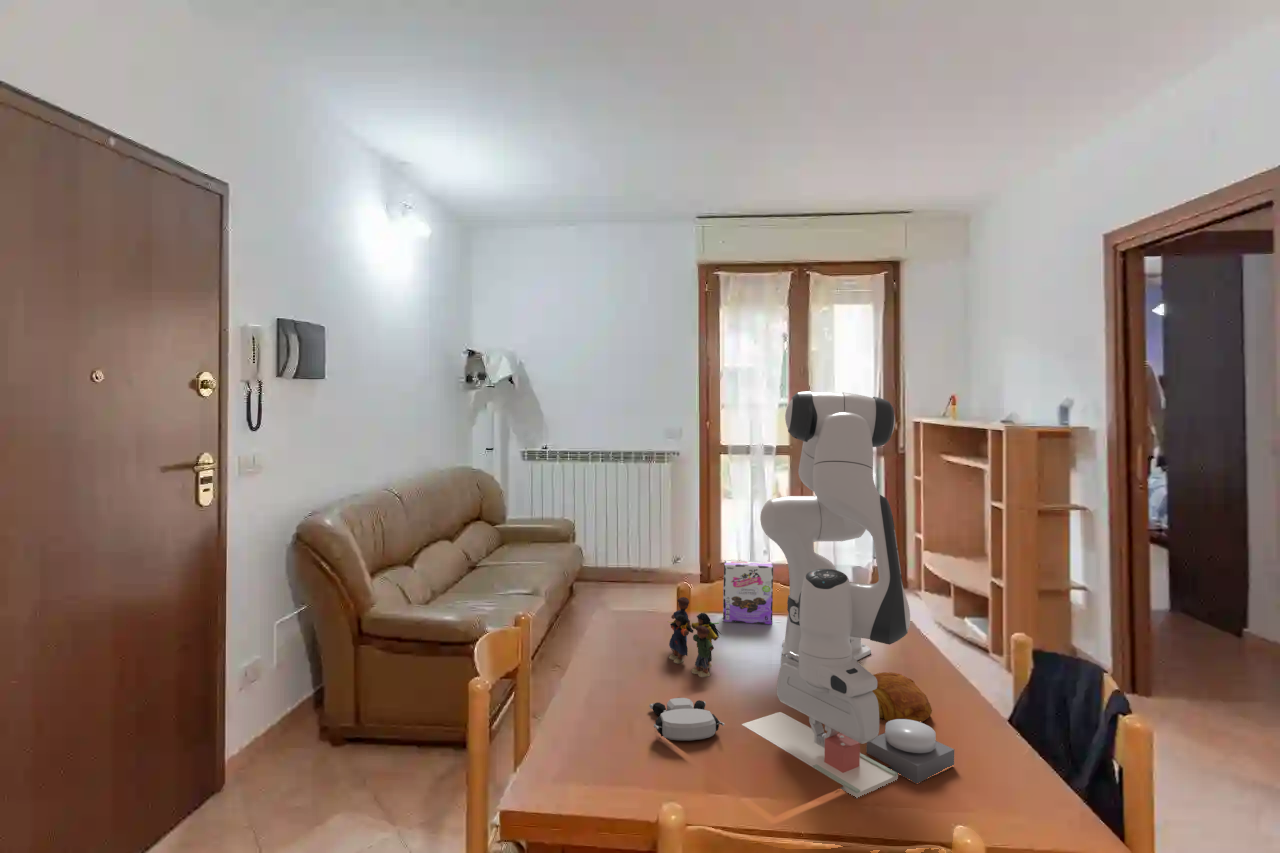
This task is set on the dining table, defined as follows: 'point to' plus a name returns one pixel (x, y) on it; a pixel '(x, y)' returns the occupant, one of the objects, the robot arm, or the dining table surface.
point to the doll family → (703, 638)
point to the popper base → (911, 759)
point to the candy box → (748, 592)
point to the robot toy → (685, 720)
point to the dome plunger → (910, 736)
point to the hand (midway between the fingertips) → (823, 745)
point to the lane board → (820, 754)
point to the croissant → (900, 698)
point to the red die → (842, 752)
